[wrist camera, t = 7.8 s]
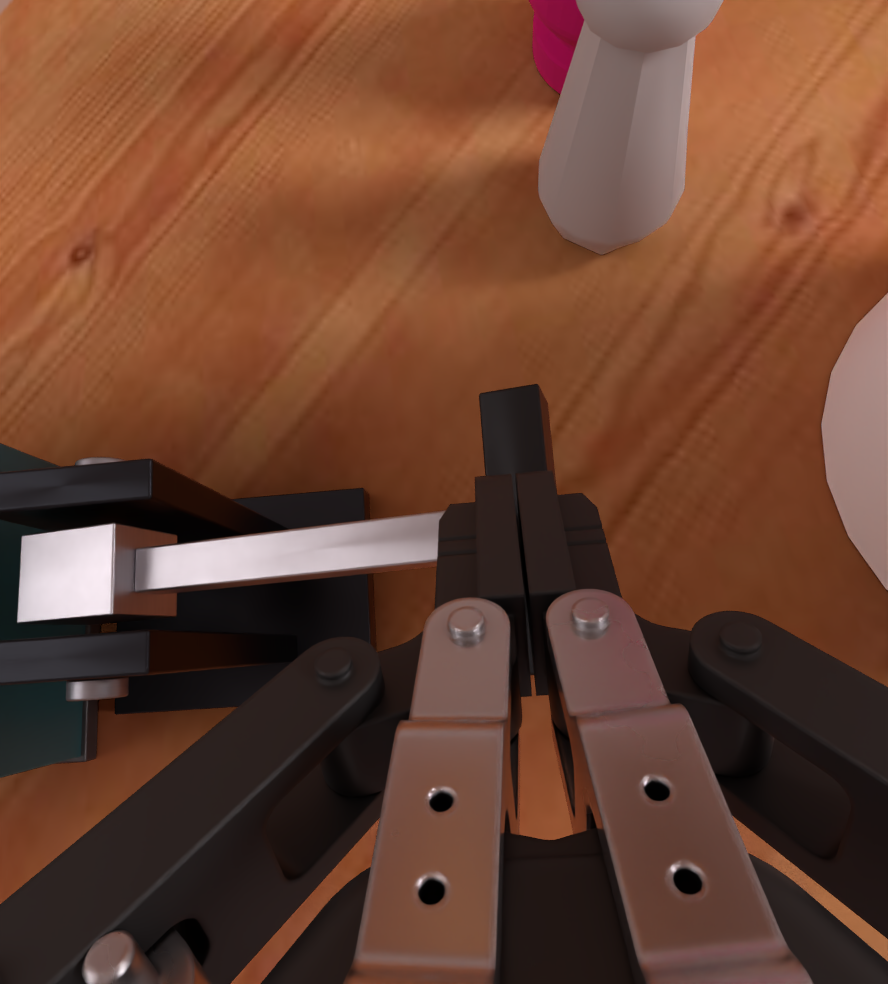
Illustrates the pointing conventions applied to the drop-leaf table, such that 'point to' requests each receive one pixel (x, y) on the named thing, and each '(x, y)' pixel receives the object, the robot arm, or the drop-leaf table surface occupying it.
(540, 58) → the pepper mill
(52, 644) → the bracket
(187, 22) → the drop-leaf table surface
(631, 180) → the salt shaker
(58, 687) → the toaster
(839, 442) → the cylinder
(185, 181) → the drop-leaf table surface
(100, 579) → the lever
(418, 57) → the drop-leaf table surface
